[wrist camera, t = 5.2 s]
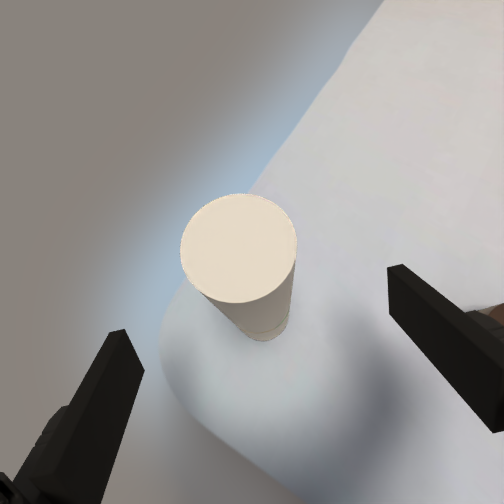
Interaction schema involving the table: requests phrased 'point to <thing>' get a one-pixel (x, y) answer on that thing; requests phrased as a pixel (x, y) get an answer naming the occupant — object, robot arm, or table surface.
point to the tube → (243, 261)
